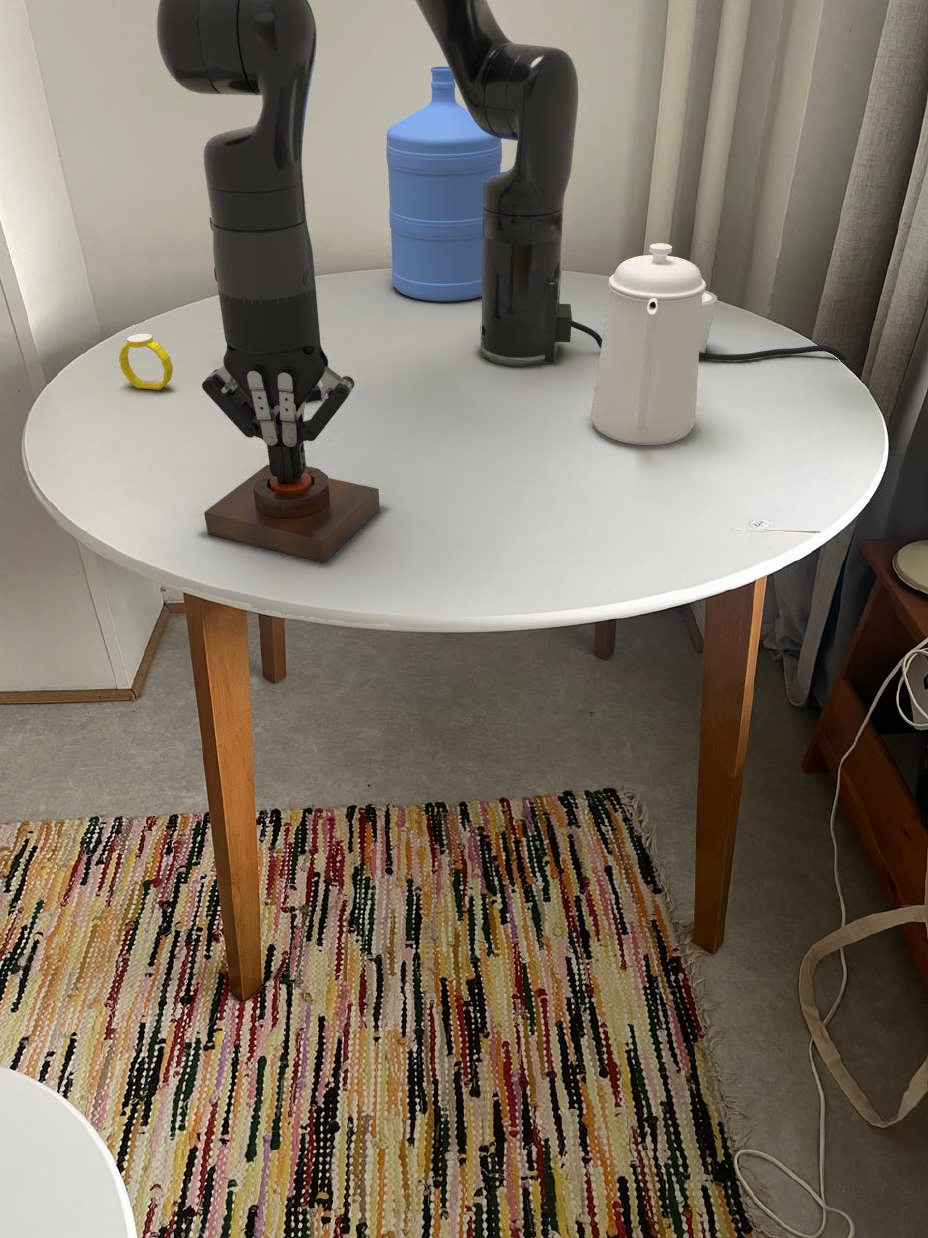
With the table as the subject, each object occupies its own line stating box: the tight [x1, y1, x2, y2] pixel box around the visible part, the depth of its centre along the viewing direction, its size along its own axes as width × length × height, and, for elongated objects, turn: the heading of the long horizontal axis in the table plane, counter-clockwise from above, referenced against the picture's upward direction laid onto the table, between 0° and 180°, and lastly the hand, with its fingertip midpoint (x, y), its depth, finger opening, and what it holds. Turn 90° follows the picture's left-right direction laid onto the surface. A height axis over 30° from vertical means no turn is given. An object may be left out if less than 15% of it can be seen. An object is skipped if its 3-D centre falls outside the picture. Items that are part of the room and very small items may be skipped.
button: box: [270, 472, 312, 494], centre depth 88 cm, size 4×4×2 cm
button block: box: [203, 464, 381, 564], centre depth 89 cm, size 12×10×4 cm
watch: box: [118, 333, 174, 391], centre depth 113 cm, size 6×3×6 cm, turn 74°
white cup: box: [699, 290, 718, 353], centre depth 122 cm, size 7×7×7 cm
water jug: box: [385, 66, 503, 302], centre depth 137 cm, size 16×16×28 cm
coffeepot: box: [590, 242, 707, 446], centre depth 100 cm, size 11×25×19 cm, turn 168°
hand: (289, 479), depth 88 cm, fingers closed
